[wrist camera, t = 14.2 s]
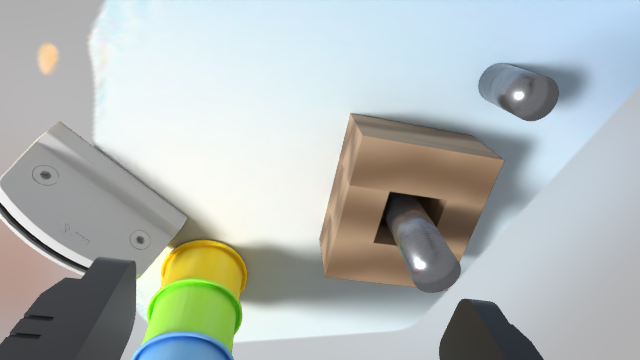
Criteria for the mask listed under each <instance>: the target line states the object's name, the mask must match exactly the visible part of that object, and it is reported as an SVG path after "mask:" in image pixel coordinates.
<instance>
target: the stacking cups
mask: <svg viewBox="0 0 640 360" xmlns="http://www.w3.org/2000/svg"><path fill="white" fill-rule="evenodd" d="M161 280H162V285H161V287H160V290H158V291H157V292H156V293H155V295H154V296H153V297H152V299H151V301H150V302H149V305H148V308H147V320H148V324H149V326H148V329H147V331H146V334H145V337H144V340H143V343H142V345H141V346H140V347H139V348H138V349H137V351H136V352H135V354H134V356H133V357H132V360H234V359H233V356H232V346H233V338H234V335H235V333H236V332H237V331H238V329H239V327H240V325H241V322H242V308H241V305H240V302H239V295H240V294H241V293H242V291H243V290H244V288H245V285H246V282H247V268H246V265H245V263H244V261H243V259H242V258H241V256H240V255H239V254H238V253H237V252H236V251H235V250H234V249H232V248H231V247H229V246H227V245H225V244H223V243H220V242H216V241H211V240H195V241H190V242H187V243H184V244H182V245H180V246H178V247H177V248H175V249H174V250H172V251H171V252H170V253H169V254H168V256H167V257H166V259H165V260H164V262H163V265H162V269H161Z"/></svg>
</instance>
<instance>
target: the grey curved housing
mask: <svg viewBox="0 0 640 360" xmlns="http://www.w3.org/2000/svg"><path fill="white" fill-rule="evenodd" d="M0 218H1V220H2V221H3V222H4V223H5V224H6V225H7V226H8V227H9V228H10V229H11V230H12V231H13V232H14V233H15V234H16V235H17V236H18V237H20V238H21V239H22V240H23V241H24V242H26V243H27V244H28V245H29V246H31V247H32V248H33V249H35V250H36V251H37V252H39V253H40V254H42V255H44V256H45V257H47V258H48V259H50V260H52V261H53V262H55V263H57V264H59V265H61V266H63V267H65V268H67V269H69V270H71V271H74V272H76V273H78V274H81V275H83V276H84V274H85V273H86V271H87V270H88V268H89V267H90V266H91V264H92V263H93V261H94V260H95V259H96V258H97V257H107V258H116V259H125V260H134V261H135V262H136V279H138V278H139V277H140V276H141V275H142V274H143V273H144V272H145V271H146V270H147V269H148V267H149V266H150V265H151V264H152V263H153V262H154V260H155V259H156V258H157V257H158V256H159V255H160V253H161V252H162V251H163V250H164V249H165V247H166V246H167V245H168V244H169V243H170V242H171V240H172V239H173V238H174V237H175V236H176V234H177V233H178V232H179V231H180V229H181V228H182V227H183V225H184V223H185V222H186V220H187V218H188V217H187V216H185V215H184V214H183V213H181V212H180V211H179V210H177V209H176V208H175V207H173V206H172V205H171V204H169V203H168V202H167V201H165V200H164V199H163V198H161V197H160V196H159V195H157V194H156V193H155V192H153V191H152V190H151V189H149V188H148V187H147V186H145V185H144V184H143V183H141V182H140V181H139V180H137V179H136V178H135V177H133V176H132V175H131V174H129V173H128V172H127V171H125V170H124V169H123V168H121V167H120V166H119V165H117V164H116V163H115V162H113V161H112V160H111V159H109V158H108V157H107V156H105V155H104V154H103V153H101V152H100V151H99V150H97V149H96V148H95V147H93V146H92V145H91V144H89V143H88V142H87V141H85V140H84V139H83V138H81V137H80V136H79V135H77V134H76V133H75V132H73V131H72V130H71V129H69V128H68V127H66V126H65V125H64V124H63V123H61V122H58V123H57V124H56V125H54V126H53V127H52V128H50V129H49V130H48V131H46V132H45V133H44V134H42V135H41V136H40V137H38V138H37V139H36V140H35V141H34V142H33V143H32V145H30V147H29V148H28V149H27V150H26V151H25V152H24V153H23V154H22V155H21V156H20V157H19V158H18V159H17V160H16V161H15V162H14V163H13V165H12V166H11V167H10V168H9V169H8V170H7V171H6V172H5V173H4V174H3V175H2V176H1V177H0Z"/></svg>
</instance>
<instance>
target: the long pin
mask: <svg viewBox="0 0 640 360" xmlns="http://www.w3.org/2000/svg"><path fill="white" fill-rule="evenodd" d="M383 215H384V218H385V220H386V222H387V224H388V226H389V229H390V231H391V233H392V235H393V238H394V240H395V242H396V244H397V247H398V249H399V251H400V253H401V256H402V258H403V260H404V262H405V265H406V267H407V269H408V271H409V273H410V276H411V278H412V280H413V282H414V284H415V286H416V287H417V288H418V289H420V290H422V291H424V292H430V293H434V292H440V291H443V290H445V289H447V288H449V287H450V286H452V285H453V284H454V283H455V282H456V281H457V279H458V277H459V275H460V271H461V267H460V264H459V262H458V260H457V259H456V257H455V255H454V254H453V252H452V251H451V249H450V248H449V246H448V245H447V243H446V242H445V240H444V238H443V237H442V235H441V234H440V232H439V231H438V229H437V228H436V226H435V225H434V223H433V222H432V220H431V218H430V217H429V215H428V214H427V212H426V211H425V209H424V208H423V206H422V205H421V203H420V201H419V200H418V198H417V197H416V195H410V194H404V193H397V192H391V191H390V192H389V195H388V198H387V201H386V205H385V208H384V211H383Z"/></svg>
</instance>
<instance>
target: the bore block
mask: <svg viewBox="0 0 640 360" xmlns="http://www.w3.org/2000/svg"><path fill="white" fill-rule="evenodd" d="M503 162H504V160H503V159H502V158H501V157H500V156H498V155H497V154H496V153H494V152H493V151H492V150H490V149H489V148H488V147H486V146H485V145H484V144H482V143H481V142H480V141H478V140H477V139H476V138H475V137H473V136H471V135H466V134H460V133H455V132H449V131H444V130H438V129H433V128H427V127H422V126H417V125H411V124H406V123H400V122H395V121H389V120H384V119H378V118H373V117H367V116H362V115H356V114H351V113H350V117H349V122H348V126H347V130H346V134H345V138H344V142H343V146H342V150H341V154H340V158H339V162H338V166H337V170H336V174H335V178H334V183H333V187H332V191H331V195H330V199H329V203H328V207H327V211H326V215H325V219H324V223H323V227H322V231H321V235H320V246H321V253H322V260H323V267H324V274H325V277H328V278H337V279H346V280H356V281H365V282H374V283H383V284H392V285H401V286H410V287H416V286H415V284H414V282H413V280H412V278H411V276H410V273H409V271H408V269H407V267H406V265H405V262H404V260H403V258H402V256H401V253H400V251H399V249H398V247H397V244H396V242H395V240H394V238H393V235H392V233H391V231H390V229H389V226H388V224H387V222H386V220H385V218H384V215H383V211H384V208H385V205H386V201H387V198H388V195H389V192H390V191H391V192H397V193H404V194H410V195H416V197H417V198H418V200H419V201H420V203H421V205H422V206H423V208H424V209H425V211H426V212H427V214H428V215H429V217H430V218H431V220H432V222H433V223H434V225H435V226H436V228H437V229H438V231H439V232H440V234H441V235H442V237H443V238H444V240H445V242H446V243H447V245H448V246H449V248H450V249H451V251H452V252H453V254H454V255H455V257H456V259H457V260H458V262H460V260H461V258H462V256H463V253H464V251H465V249H466V246H467V244H468V242H469V240H470V237H471V235H472V233H473V231H474V228H475V226H476V224H477V221H478V219H479V217H480V215H481V212H482V210H483V208H484V205H485V203H486V201H487V199H488V196H489V194H490V192H491V190H492V187H493V185H494V183H495V180H496V178H497V176H498V174H499V171H500V169H501V167H502V165H503ZM445 290H446V291H447V290H448V288H447V289H445Z"/></svg>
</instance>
